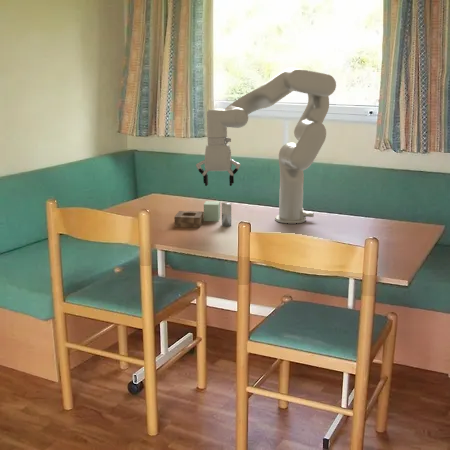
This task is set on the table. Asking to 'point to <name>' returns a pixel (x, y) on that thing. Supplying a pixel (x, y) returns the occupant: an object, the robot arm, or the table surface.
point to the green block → (212, 211)
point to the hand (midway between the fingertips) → (218, 185)
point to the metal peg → (226, 214)
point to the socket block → (189, 219)
